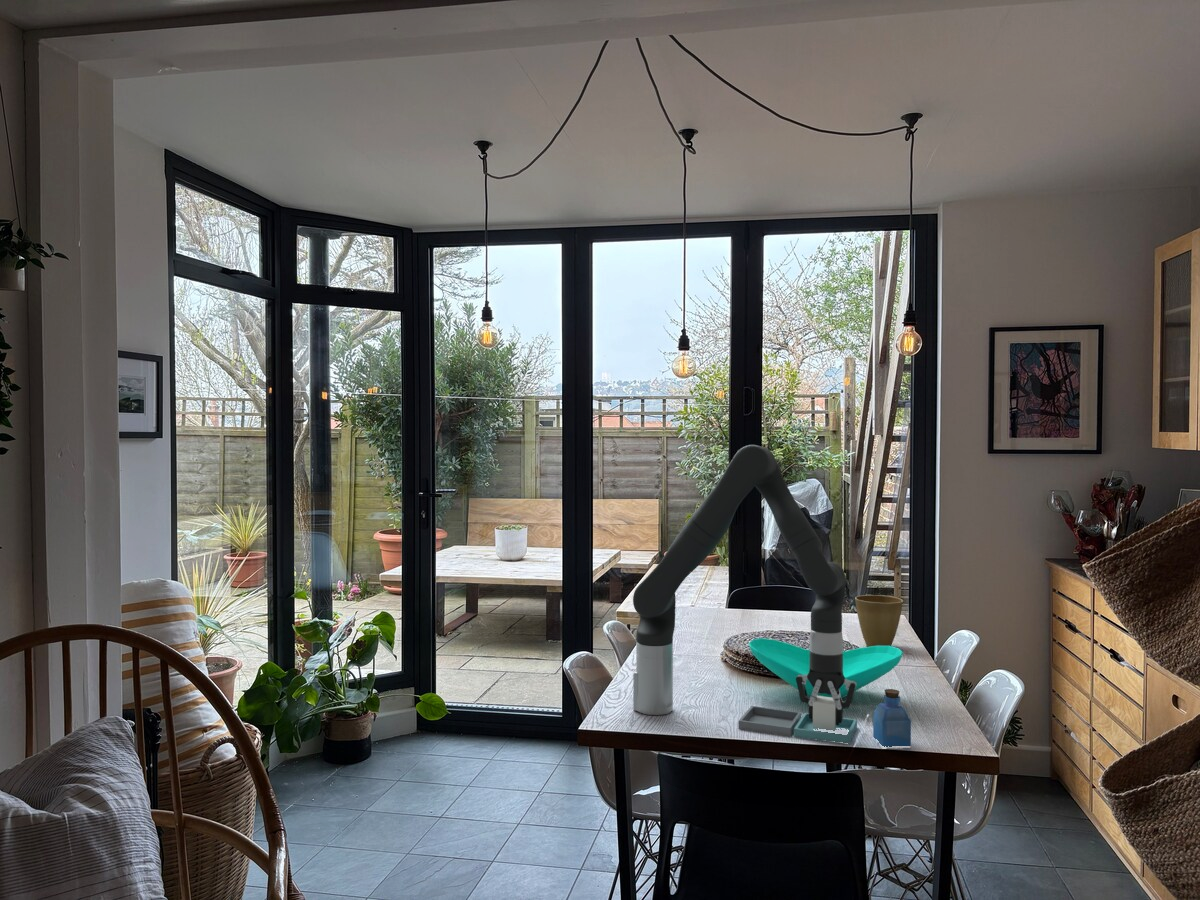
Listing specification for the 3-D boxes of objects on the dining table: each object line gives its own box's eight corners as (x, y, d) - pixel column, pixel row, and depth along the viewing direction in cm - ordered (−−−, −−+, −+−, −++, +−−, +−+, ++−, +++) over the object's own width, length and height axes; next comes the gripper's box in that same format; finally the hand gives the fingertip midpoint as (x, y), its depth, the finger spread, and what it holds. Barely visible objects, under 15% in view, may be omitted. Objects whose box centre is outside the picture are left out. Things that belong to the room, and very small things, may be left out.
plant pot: (909, 653, 271) (909, 603, 271) (862, 653, 271) (862, 603, 271) (894, 641, 286) (894, 594, 285) (849, 641, 286) (849, 594, 286)
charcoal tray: (738, 730, 200) (738, 720, 200) (751, 715, 211) (751, 705, 211) (790, 738, 195) (790, 728, 195) (801, 722, 206) (801, 712, 206)
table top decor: (743, 706, 218) (743, 655, 217) (752, 676, 244) (752, 630, 244) (907, 719, 207) (908, 665, 207) (898, 687, 234) (898, 639, 234)
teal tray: (794, 739, 194) (794, 728, 194) (804, 722, 205) (804, 712, 205) (849, 747, 189) (849, 736, 189) (856, 729, 200) (856, 719, 200)
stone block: (812, 727, 196) (812, 701, 196) (816, 720, 201) (816, 695, 200) (834, 730, 194) (835, 704, 194) (838, 723, 198) (838, 698, 198)
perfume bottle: (899, 739, 194) (900, 686, 194) (910, 749, 188) (911, 695, 188) (873, 739, 194) (873, 687, 194) (883, 749, 188) (883, 695, 188)
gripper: (791, 650, 196) (791, 723, 197) (855, 656, 191) (855, 732, 191) (798, 642, 203) (798, 713, 204) (860, 649, 197) (860, 722, 198)
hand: (825, 722), depth 197 cm, fingers closed on stone block, 4 cm apart
